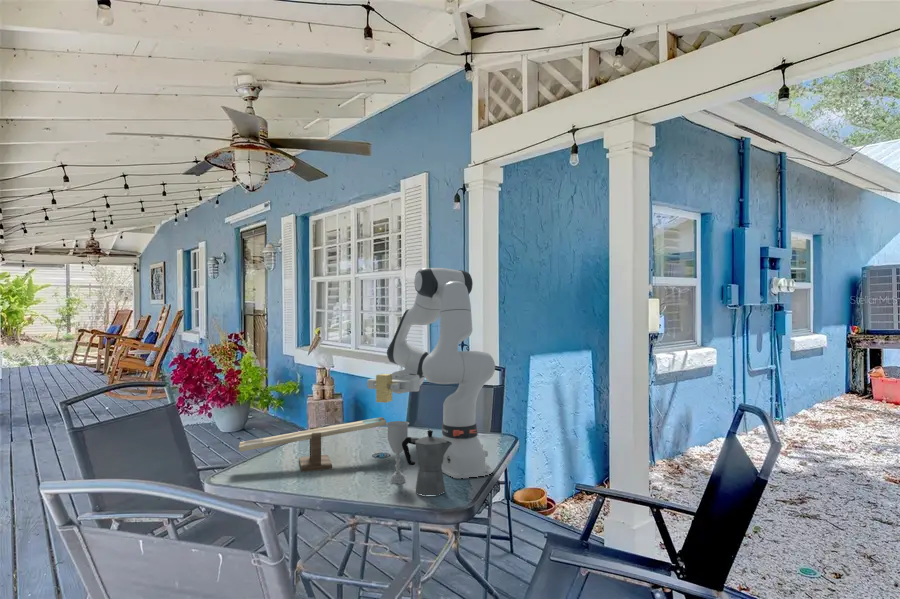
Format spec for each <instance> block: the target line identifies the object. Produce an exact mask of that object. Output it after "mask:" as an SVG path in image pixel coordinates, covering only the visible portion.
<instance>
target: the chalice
mask: <svg viewBox="0 0 900 599" xmlns="http://www.w3.org/2000/svg"><path fill="white" fill-rule="evenodd" d="M409 424H410V422H408V421H402V420H396V421H388V422H386V425H385V426H386V427H387V441H388V444H389V447H390V449H391V451H392V453H394V454H395V460H394V461H395V462H396V463H395V465H394V468H395V472H393V474H392V475H391V477H390V479H389V483H390V482H392V483H391V484H393V483H401V484H404V483H406V482H407V480H406V478H405V475H404V473H403V472H401V471H400V467H401V466H402V465H401V464H400V461H401V457H400V454H401V453H403V452H404V450H403V447H402V442H403V441H404V440H405V439H406V437H409V434H408V433H409V432H408V428H409V427H408V426H409ZM405 481H406V482H405ZM403 482H404V483H403Z"/></svg>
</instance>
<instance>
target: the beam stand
mask: <svg viewBox="0 0 900 599" xmlns="http://www.w3.org/2000/svg"><path fill="white" fill-rule="evenodd" d="M317 428H320V427H319V426H310V427H309V430H311V429H317ZM298 461H299V466H300V470H301V471H300V472H301V473H304V472H305V473H306V472H315V471H323V470H325V471H326V470H332V469H333V464H332V463H333V462H331V459H330V456H329V454H322V437H321V432H316V433H312V439H309V455H308V456H300V457H299V460H298Z"/></svg>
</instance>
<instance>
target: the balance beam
mask: <svg viewBox="0 0 900 599" xmlns="http://www.w3.org/2000/svg"><path fill="white" fill-rule="evenodd" d="M386 423H387V420H386V419H385V418H384V417H383V416H380V417H374V418H368V419H363V420H357V421H352V422H346V423H341V424H340V423H339V424H336V425H335V424H334V425H329V426H325V427H319V428H317V429H311V430H310V429H306V430H301V431H295V432H290V433H283V434H279V435H273V436H267V437H260V438H256V439H254V438H253V439H250V440H244V441H240V442H239V445H238V450H239V453H241V452H246V451H252V450H253V451H254V450H258V449H262V448H269V447H273V446H279V445H285V444H290V443H291V444H292V443H296V442H300V441H306V440H308V441H309V440H310V439H312V433H316V432H321V438H322V437H323V438H324V437H329V436H335V435H339V434H346V433H351V432H357V431H362V430H367V429H373V428H378V427H384V426H387V425H386Z"/></svg>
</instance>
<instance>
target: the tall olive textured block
mask: <svg viewBox="0 0 900 599" xmlns="http://www.w3.org/2000/svg"><path fill="white" fill-rule="evenodd" d="M375 378H376V389H375V393H376V394H375V395H376V396H375V397H376V398H375V400H376V401H375V402H376V403H390V402H392V401H393V391H392V390H391V389H388V385H389V384H392V373H380V374H376V375H375Z"/></svg>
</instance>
